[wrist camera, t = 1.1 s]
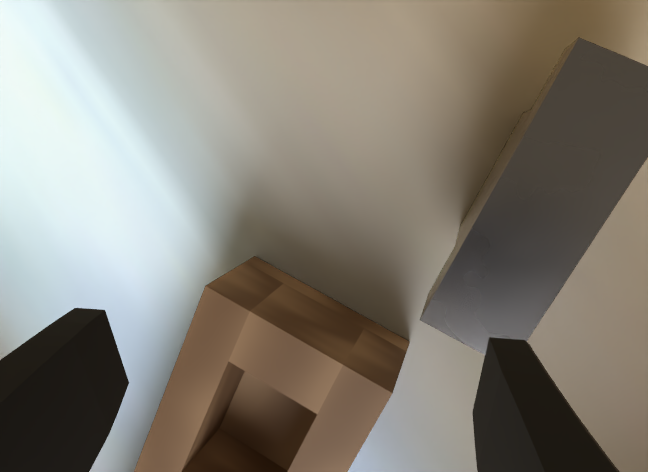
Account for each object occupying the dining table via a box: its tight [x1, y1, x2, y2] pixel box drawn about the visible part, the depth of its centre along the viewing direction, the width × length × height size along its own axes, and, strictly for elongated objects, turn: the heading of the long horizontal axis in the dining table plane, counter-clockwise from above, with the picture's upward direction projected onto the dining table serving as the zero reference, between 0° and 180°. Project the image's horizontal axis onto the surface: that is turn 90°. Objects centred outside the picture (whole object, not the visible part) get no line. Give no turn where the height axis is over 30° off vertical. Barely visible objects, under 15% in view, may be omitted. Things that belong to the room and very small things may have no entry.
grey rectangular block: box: [420, 38, 648, 355], centre depth 17 cm, size 3×9×6 cm, turn 156°
